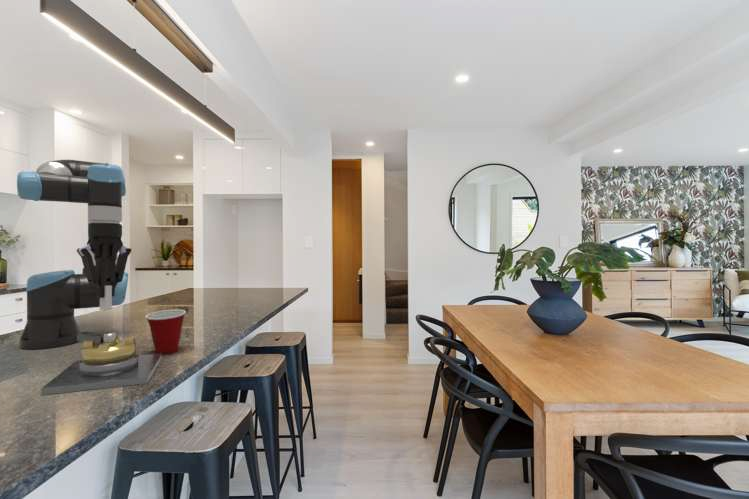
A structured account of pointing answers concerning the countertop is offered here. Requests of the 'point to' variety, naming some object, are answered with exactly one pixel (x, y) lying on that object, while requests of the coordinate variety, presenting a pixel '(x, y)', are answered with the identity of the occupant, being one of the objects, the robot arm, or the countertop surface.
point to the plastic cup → (166, 329)
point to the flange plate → (102, 382)
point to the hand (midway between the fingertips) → (105, 309)
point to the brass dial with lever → (105, 348)
